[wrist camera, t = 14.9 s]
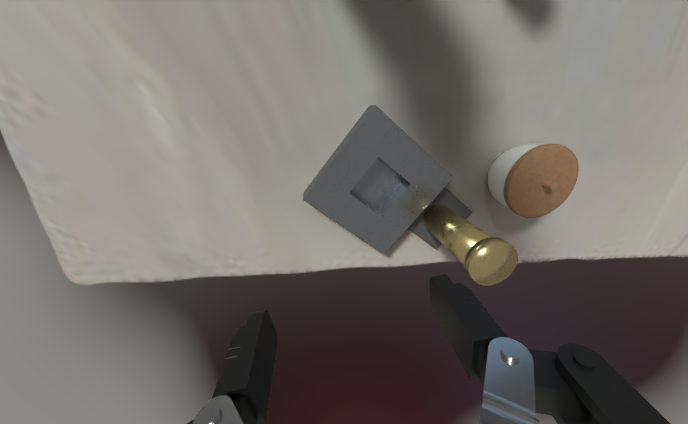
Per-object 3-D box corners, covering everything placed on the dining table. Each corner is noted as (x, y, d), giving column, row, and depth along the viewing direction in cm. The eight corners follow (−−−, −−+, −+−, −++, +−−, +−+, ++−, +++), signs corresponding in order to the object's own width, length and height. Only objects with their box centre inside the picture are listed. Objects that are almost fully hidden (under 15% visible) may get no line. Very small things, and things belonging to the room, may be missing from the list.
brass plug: (437, 194, 42) (499, 234, 29) (460, 214, 44) (526, 259, 31) (413, 221, 43) (461, 271, 30) (436, 239, 45) (490, 293, 32)
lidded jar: (512, 207, 46) (560, 230, 37) (463, 192, 43) (503, 212, 35) (545, 149, 43) (606, 160, 34) (495, 129, 40) (547, 134, 31)
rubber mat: (437, 181, 42) (439, 182, 41) (470, 210, 45) (472, 212, 44) (400, 222, 44) (402, 223, 43) (434, 247, 47) (436, 249, 46)
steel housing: (369, 105, 36) (375, 105, 33) (441, 172, 41) (453, 177, 38) (303, 192, 39) (303, 200, 36) (378, 243, 45) (383, 254, 42)
